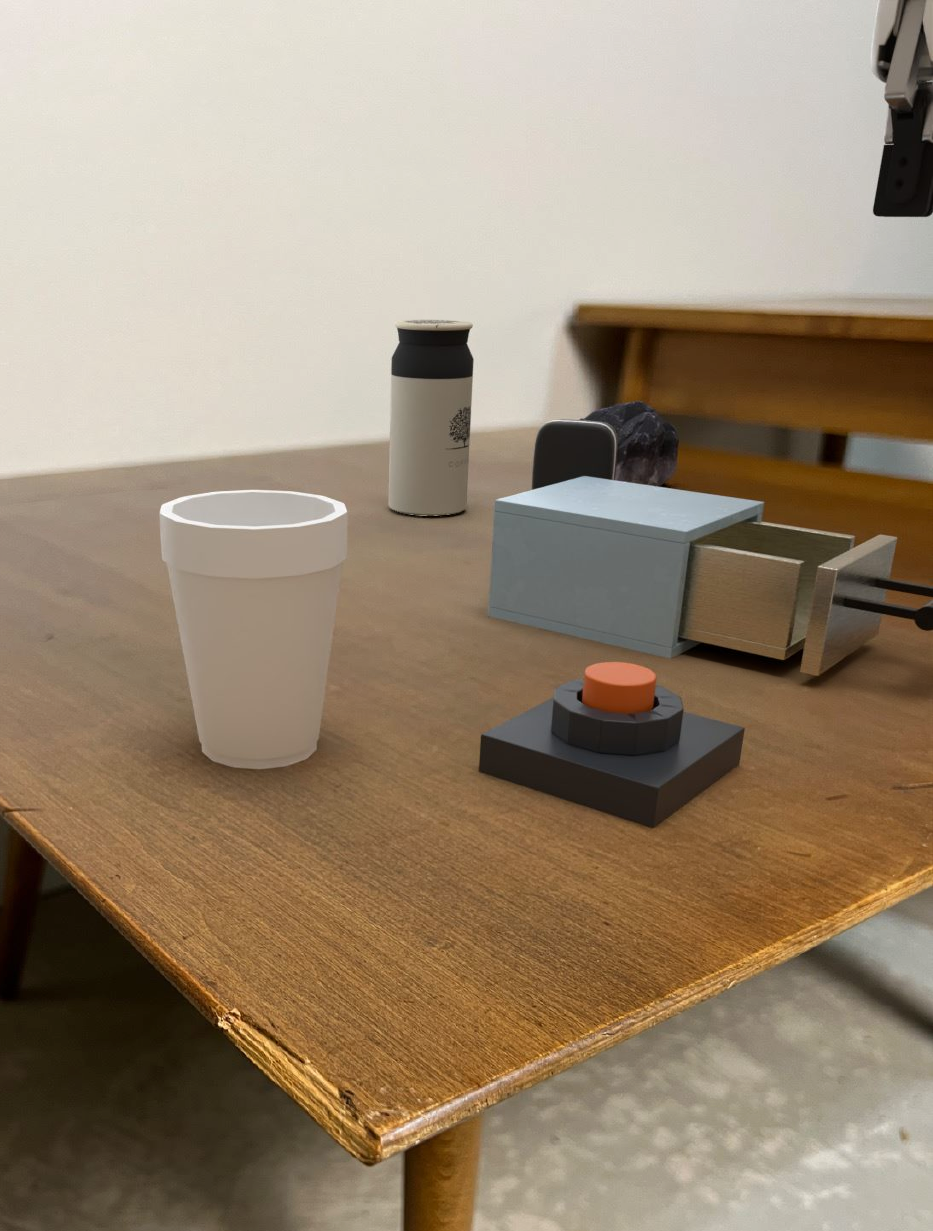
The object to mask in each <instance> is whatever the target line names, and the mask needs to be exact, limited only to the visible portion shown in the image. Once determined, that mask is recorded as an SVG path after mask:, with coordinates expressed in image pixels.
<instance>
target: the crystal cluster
mask: <svg viewBox="0 0 933 1231" xmlns="http://www.w3.org/2000/svg"><path fill="white" fill-rule="evenodd" d="M578 420H588V421H599V422H605V423H608V424H610V425H611V426H612V427H613V428H614V429H615V430H616V433H617V437H618V450H617V464H616V474H615V481H622V482H629V483H636V484H643V485H650V486H657V487H662V486H663V484H665V483H668V482H669V481H670V479H672V477H673V476H674V475H675V472H676V471H677V468H678V456H679V444H680V440H679V432H678V430H677V428H676V427H675V426H674V425H673V424H672V423H671V422H670V421H664V420H663V419H662V418H661V416H660V414H659V413H658V412H657V410H656V409H655V408H652V407H651V406H650V405H648V404H646V403H645V402H644V401H643V400H642V401H640V400H632V401H631V402H628V401H627V402H623V403H617V404H613V405H611V406H609V407H602V408H599V409H596V410H594V411H591V412H590V413H589V414H588V415H586V416H585V417H584V418H579V419H578Z"/></svg>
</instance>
